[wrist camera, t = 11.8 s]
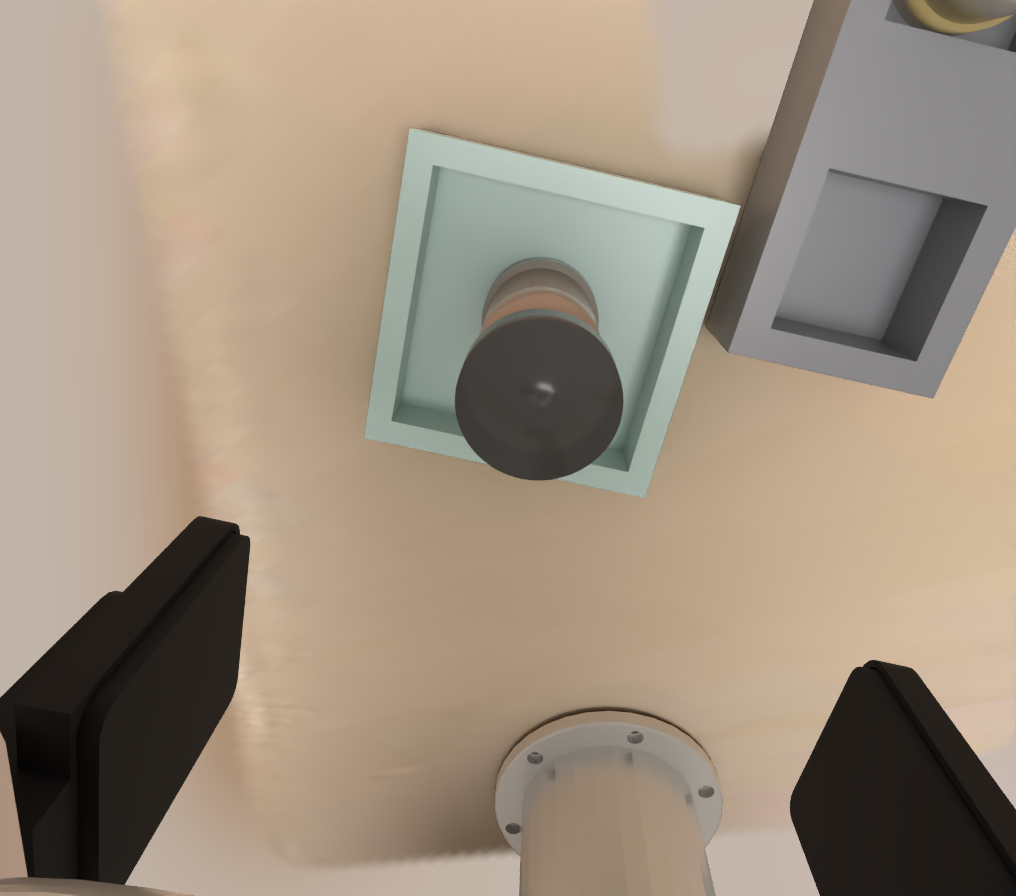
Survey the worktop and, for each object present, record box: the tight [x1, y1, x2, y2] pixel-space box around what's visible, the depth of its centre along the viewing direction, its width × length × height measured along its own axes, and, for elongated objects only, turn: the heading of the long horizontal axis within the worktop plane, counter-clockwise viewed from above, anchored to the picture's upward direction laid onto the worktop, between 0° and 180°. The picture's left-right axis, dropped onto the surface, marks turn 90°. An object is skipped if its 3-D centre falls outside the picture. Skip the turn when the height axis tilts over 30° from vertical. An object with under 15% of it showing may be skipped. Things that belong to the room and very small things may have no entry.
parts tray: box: [364, 128, 741, 498], centre depth 29 cm, size 12×12×3 cm
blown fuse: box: [455, 257, 624, 480], centre depth 25 cm, size 5×5×11 cm
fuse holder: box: [706, 0, 1016, 399], centre depth 25 cm, size 18×8×4 cm, turn 168°
